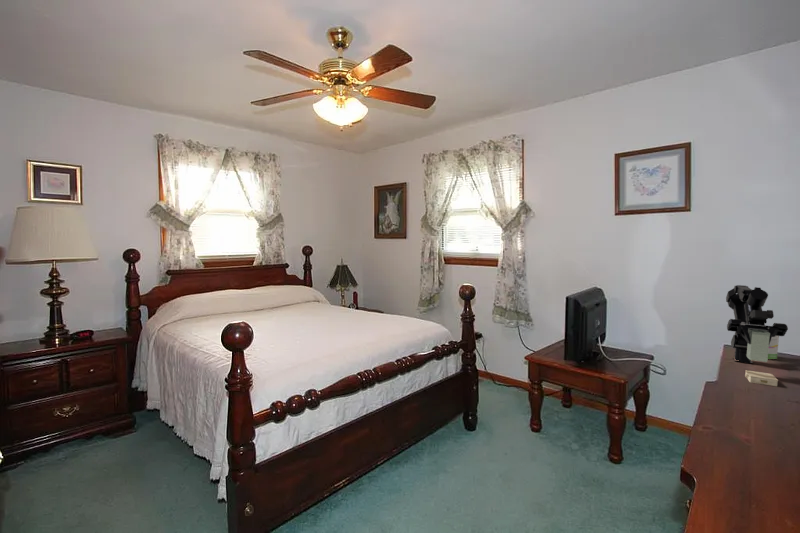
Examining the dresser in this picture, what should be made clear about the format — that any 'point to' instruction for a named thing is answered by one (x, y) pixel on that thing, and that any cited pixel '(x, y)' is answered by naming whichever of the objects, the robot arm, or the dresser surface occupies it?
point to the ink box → (773, 348)
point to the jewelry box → (761, 378)
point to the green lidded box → (758, 345)
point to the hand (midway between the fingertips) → (758, 344)
